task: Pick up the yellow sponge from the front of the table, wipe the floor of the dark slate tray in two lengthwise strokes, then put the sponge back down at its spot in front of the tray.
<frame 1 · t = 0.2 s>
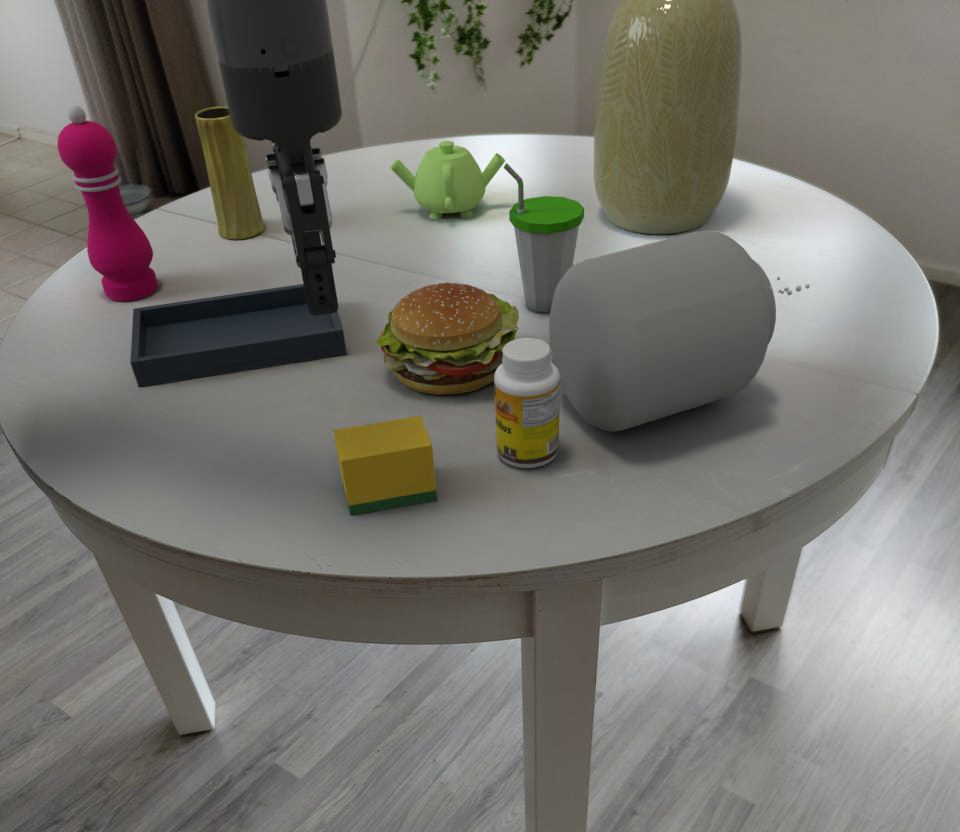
hand: (317, 288, 72), 16 cm above the table, tool pointing down, fingers open, 8 cm apart
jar: (675, 387, 92), on the table
sponge: (389, 491, 81), on the table
vase: (242, 232, 125), on the table
cup: (546, 306, 105), on the table
tray: (240, 343, 102), on the table
pepper mill: (132, 291, 113), on the table
teapot: (450, 209, 127), on the table
supplement bottle: (527, 455, 84), on the table
vase 2: (657, 216, 122), on the table
food: (454, 371, 96), on the table
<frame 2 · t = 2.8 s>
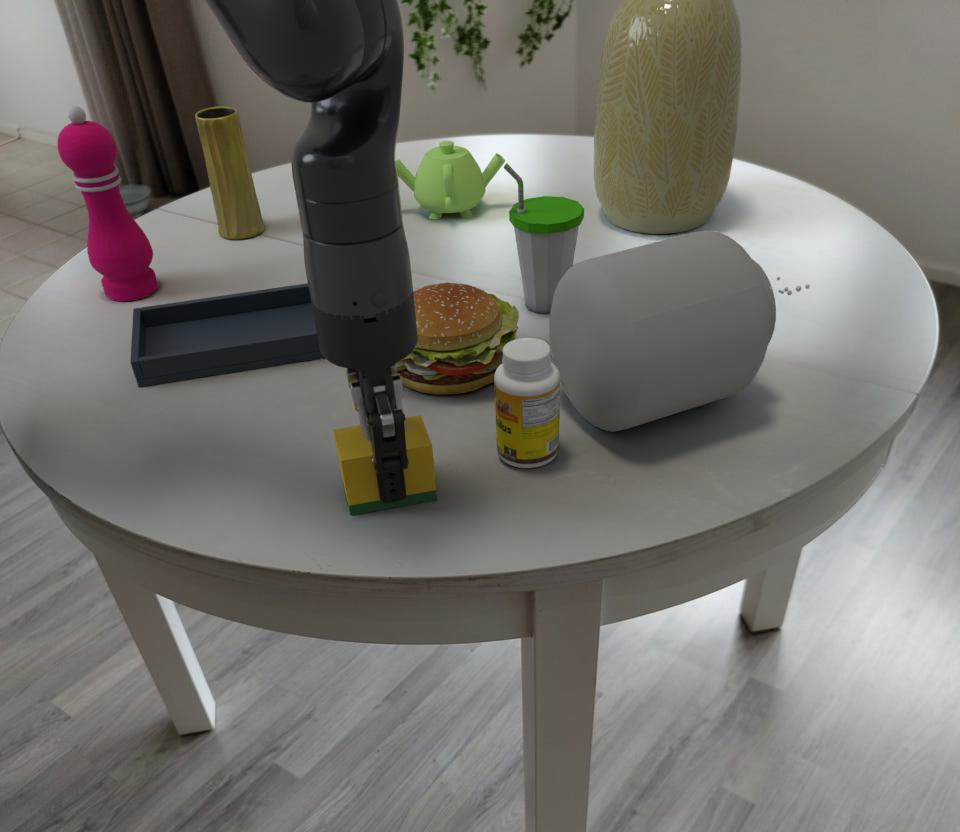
hand: (388, 480, 80), 1 cm above the table, tool pointing down, fingers closed on sponge, 4 cm apart
sponge: (389, 491, 81), on the table, touching gripper
everything else where it was.
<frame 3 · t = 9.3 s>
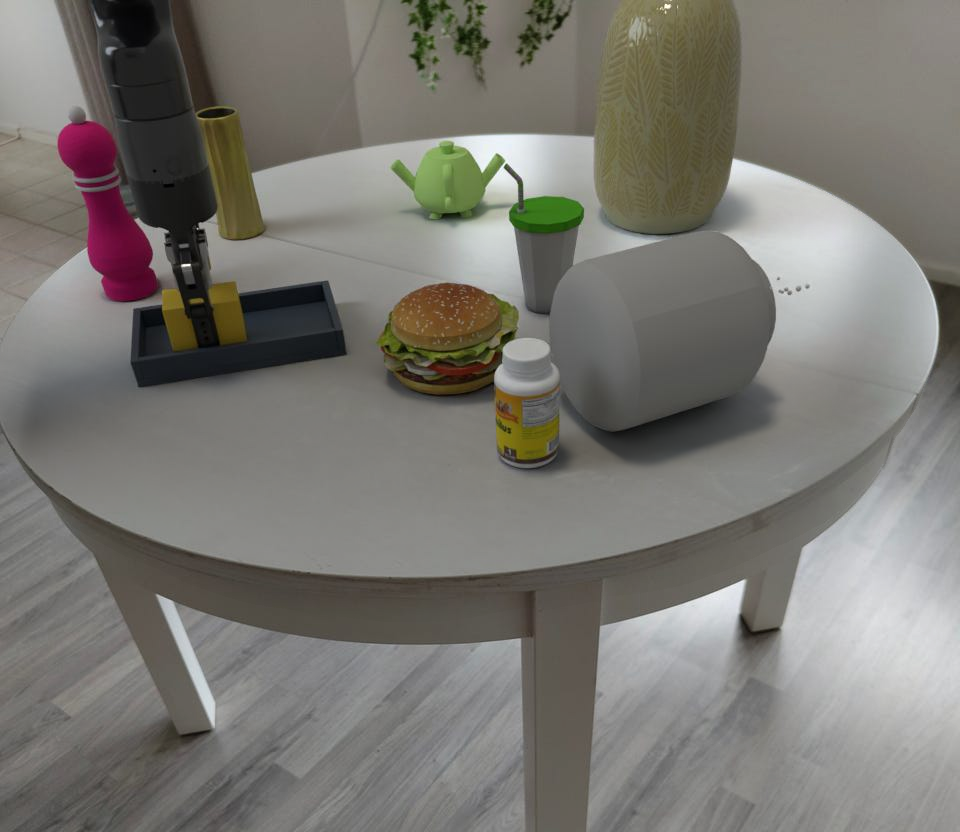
hand: (208, 335, 98), 2 cm above the table, tool pointing down, fingers closed on sponge, 4 cm apart
sponge: (211, 345, 99), point 1 cm above the table, touching gripper
everything else where it was.
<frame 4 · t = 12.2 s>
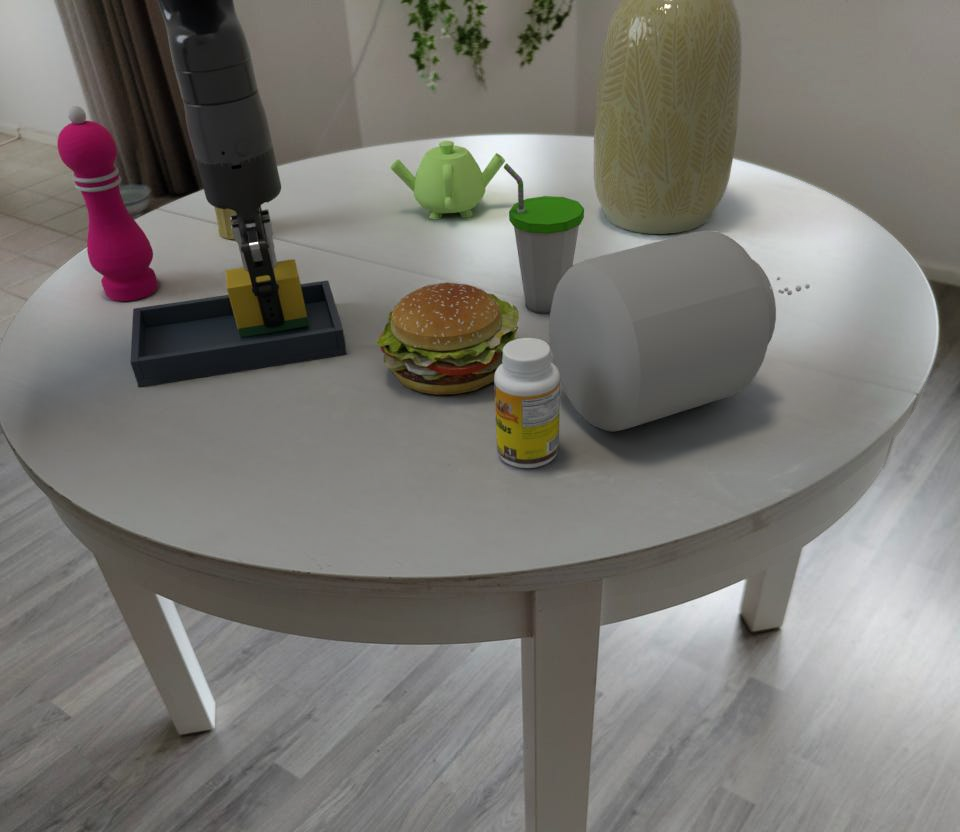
hand: (273, 313, 102), 2 cm above the table, tool pointing down, fingers closed on sponge, 4 cm apart
sponge: (273, 322, 103), point 1 cm above the table, touching gripper
everything else where it was.
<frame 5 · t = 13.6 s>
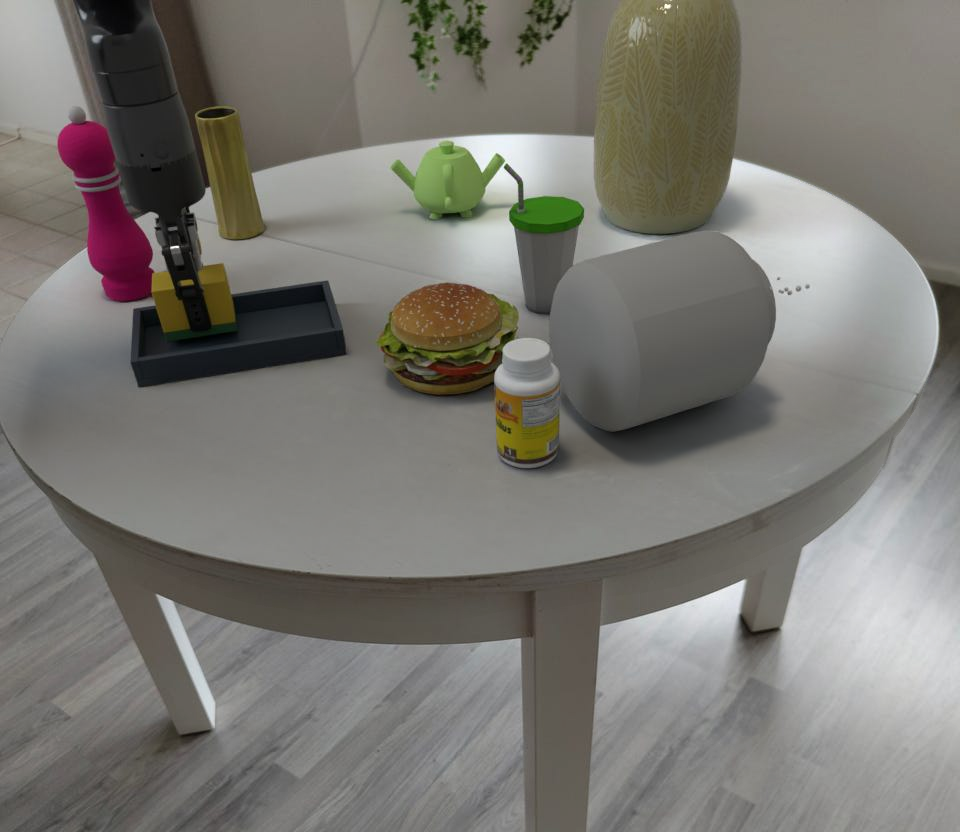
hand: (201, 317, 101), 2 cm above the table, tool pointing down, fingers closed on sponge, 4 cm apart
sponge: (201, 326, 102), point 2 cm above the table, touching gripper
everything else where it was.
when the fingers open (1 cm above the table, at t = 21.3 s): sponge stays where it is, on the table.
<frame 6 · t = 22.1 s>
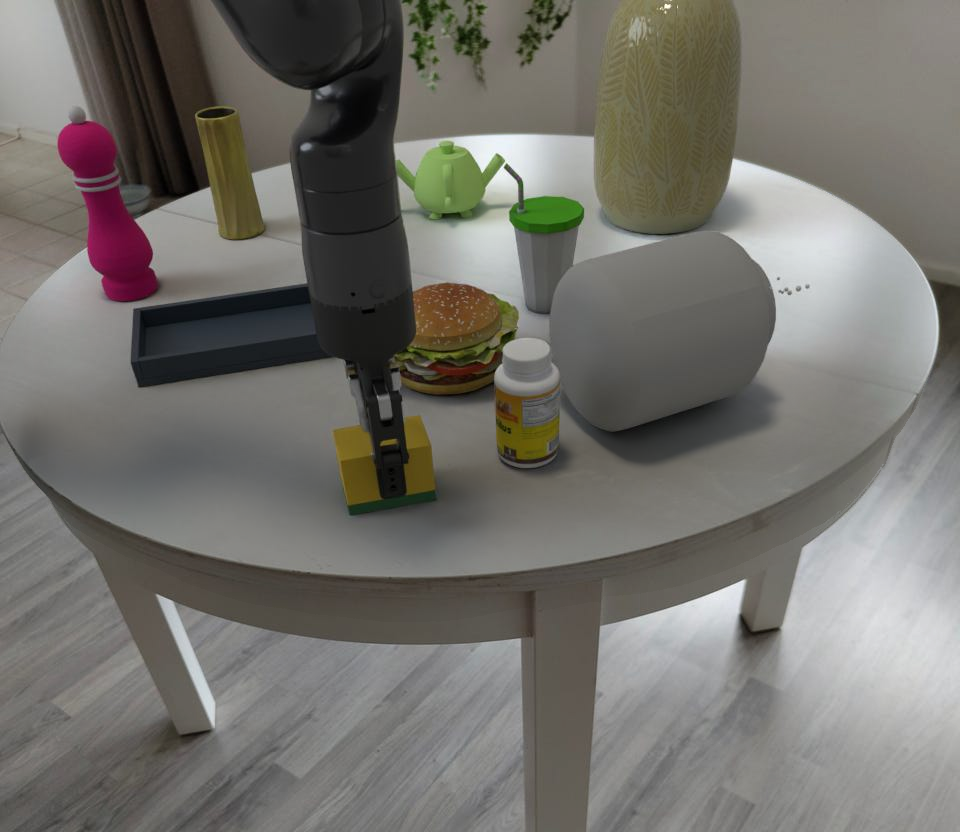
hand: (384, 466, 79), 3 cm above the table, tool pointing down, fingers open, 8 cm apart
sponge: (388, 491, 81), on the table
everything else where it was.
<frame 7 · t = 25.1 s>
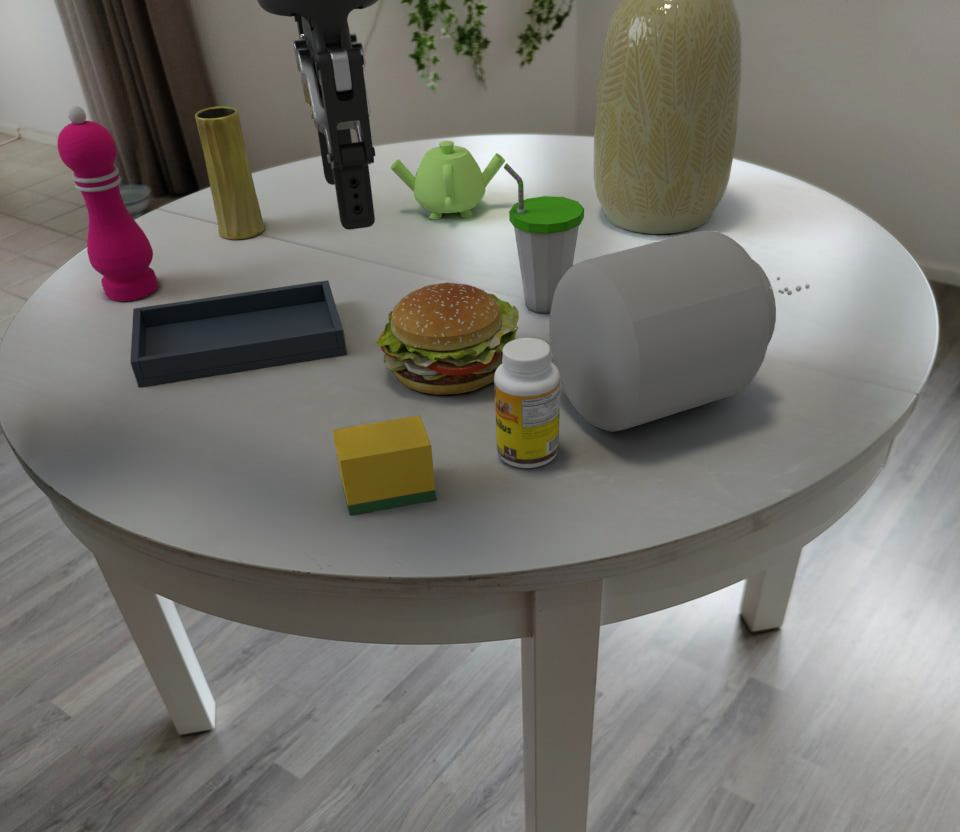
hand: (349, 203, 64), 24 cm above the table, tool pointing down, fingers open, 8 cm apart
nothing on the table moved.
at the end: sponge tilted 0°; the gripper is holding nothing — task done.
